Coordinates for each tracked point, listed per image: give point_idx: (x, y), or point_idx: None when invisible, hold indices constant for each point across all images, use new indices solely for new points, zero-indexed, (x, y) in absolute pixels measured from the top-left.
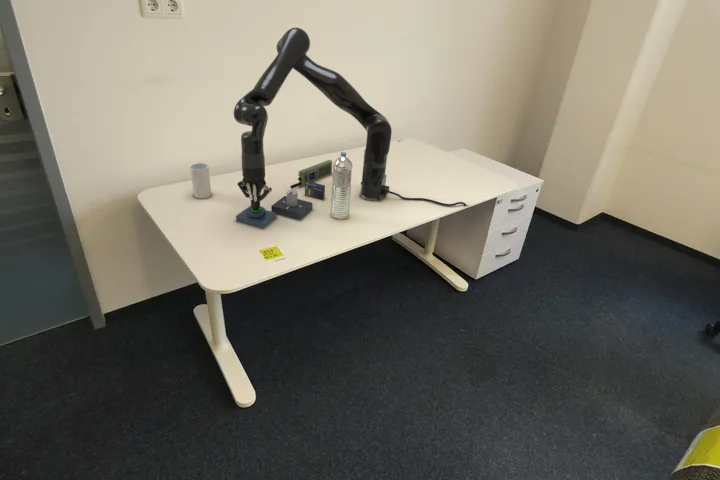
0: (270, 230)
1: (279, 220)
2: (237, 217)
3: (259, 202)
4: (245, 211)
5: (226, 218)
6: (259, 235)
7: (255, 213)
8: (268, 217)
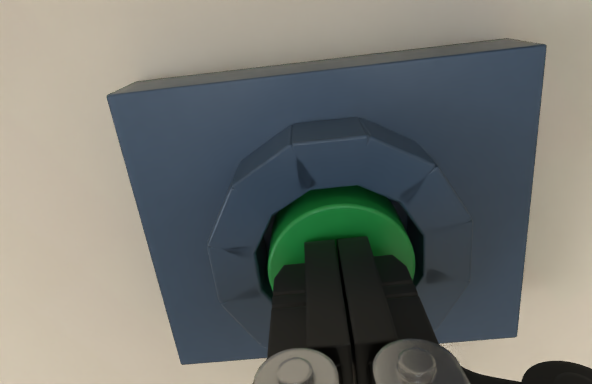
0: (568, 276)
1: (570, 61)
2: (204, 355)
3: (429, 333)
4: (182, 246)
5: (87, 327)
6: (515, 377)
7: None
8: (510, 206)
